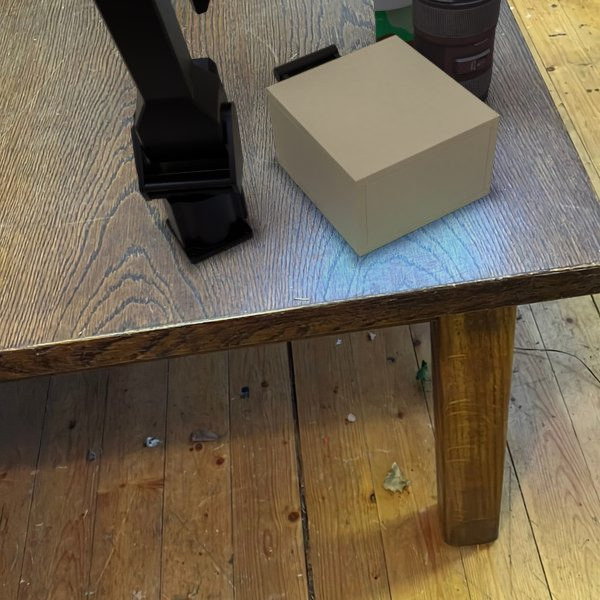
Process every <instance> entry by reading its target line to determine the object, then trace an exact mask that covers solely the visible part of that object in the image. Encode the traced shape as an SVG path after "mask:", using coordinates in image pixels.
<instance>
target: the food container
mask: <svg viewBox="0 0 600 600" xmlns="http://www.w3.org/2000/svg"><path fill="white" fill-rule="evenodd" d="M373 11H374V25H375V28H374V29H375V43H377V42H379V41H382V40H384V39H387V38H389V37H392V36H394V35H397V36H398V37H399V38H400V39H402V40H403V41H404V42H406V43H407V44H408V45H409V46H411V47H412V48H413V41H414V28H413V24H412V0H373Z"/></svg>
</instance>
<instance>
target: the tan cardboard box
mask: <svg viewBox="0 0 600 600" xmlns="http://www.w3.org/2000/svg"><path fill="white" fill-rule="evenodd" d="M265 89H266V96H267V101H268V107H269V114H270V120H271V126H272V134H273V139H274V145H275V151H276V156H277V163H278V165H280V167H281V168H282V169H283V170H284V171H285V173H286V174H288V176H289V177H290V178H291V180H293V182H294V183H295V184H296V185H297V186H298V187H299V189H300V190H301V191H302V192H303V193H304V194H305V196H306V197H307V198H308V199H309V200H310V202H312V204H313V205H314V206H315V207H316V209H318V211H320V212H321V214H322V216H324V217H325V219H326V220H327V221H328V222H329V223H330V225H332V227H333V228H334V229H335V231H337V232H338V234H339V235H340V236H341V237H342V239H344V241H345V242H346V243H347V244H348V245H349V247H351V249H352V250H353V251H354V252H355V254H357V256H358V257H359V258H361V257H363V256H365V255H367V254H369V253H371V252H373V251H376V250H377V249H380V248H381V247H384V246H385V245H388V244H390V243H391V242H394V241H396V240H398V239H400V238H402V237H404V236H406V235H408V234H411V233H412V232H414V231H417V230H419V229H420V228H422V227H424V226H427V225H429V224H431V223H432V222H435V221H437V220H439V219H440V218H443V217H445V216H448V215H449V214H451V213H453V212H455V211H458V210H460V209H462V208H464V207H466V206H468V205H470V204H472V203H474V202H476V201H478V200H480V199H482V198H484V197H486V196H488V195H490V192H491V185H492V178H493V169H494V162H495V155H496V148H497V142H498V141H497V140H498V134H499V125H500V119H501V117H500V116H501V115H500V114H499V113H498V112H496V111H495V110H494V109H493V108H491V107H490V106H489V105H487V104H486V103H485V102H484V103H483V102H482V101H481V100H479V99H478V98H477V97H476V96H474V95H473V94H472V93H470V92H469V91H468V90H467V89H465V88H464V87H463V86H461V85H460V84H459V83H457V82H456V81H455V80H454V79H452V78H451V77H450V76H448V75H447V74H446V73H444V72H443V71H442V70H441V69H439V68H438V67H437V66H435V65H434V64H433V63H432V62H430V61H429V60H428V59H426V58H425V57H424V56H422V55H421V54H420V53H419V52H417V51H416V50H415V49H413V48H412V47H411V46H409V45H408V44H407V43H406V42H404V41H403V40H402V39H400V38H399V37H398V36H397V35H394V36H392V37H389V38H387V39H384V40H382V41H379V42H377V43H376V42H375V43H372V44H369V45H367V46H365V47H363V48H360V49H357V50H355V51H353V52H350V53H348V54H345V55H343V56H342V57H340V58H338V59H335V60H333V61H330V62H328V63H325V64H323V65H320V66H318V67H316V68H313V69H311V70H308V71H306V72H303V73H301V74H298V75H296V76H293V77H291V78H289V79H286V80H284V81H281V82H276V83H274V84H272V85H269V86H267V87H266V88H265Z"/></svg>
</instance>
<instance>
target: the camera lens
mask: <svg viewBox="0 0 600 600" xmlns="http://www.w3.org/2000/svg"><path fill="white" fill-rule="evenodd" d="M501 2H502V0H412V24H413V28H414V41H413V49H415V50H416V51H417V52H419V53H420V54H421V55H422V56H424V57H425V58H426V59H428V60H429V61H430V62H432V63H433V64H434V65H435V66H437V67H438V68H439V69H441V70H442V71H443V72H444V73H446V74H447V75H448V76H450V77H451V78H452V79H454V80H455V81H456V82H457V83H459V84H460V85H461V86H463V87H464V88H465V89H467V90H468V91H469V92H470V93H472V94H473V95H474V96H476V97H477V98H478V99H479V100H481V101H482V102H483V103H485V102H486V101H487V100H488V96H489V91H490V87H491V84H492V83H491V82H492V77H493V70H494V69H493V68H494V52H495V41H496V32H497V31H496V30H497V26H498V22H499V19H500V12H501Z"/></svg>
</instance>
